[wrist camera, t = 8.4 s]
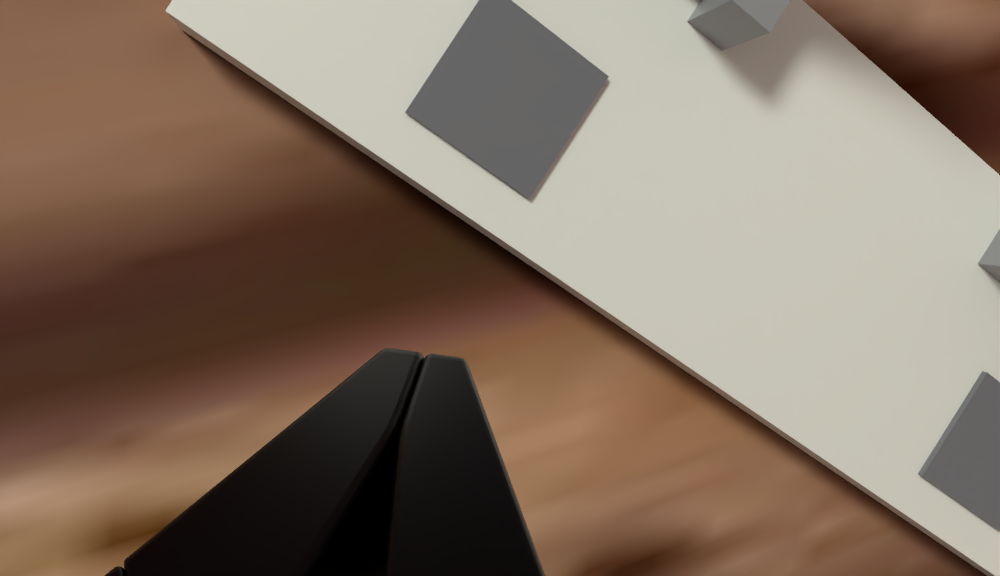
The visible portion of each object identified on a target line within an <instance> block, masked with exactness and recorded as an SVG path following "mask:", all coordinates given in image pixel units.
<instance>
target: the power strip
mask: <svg viewBox="0 0 1000 576" xmlns="http://www.w3.org/2000/svg"><path fill="white" fill-rule="evenodd" d="M166 12H167V14H168V15H169V16H170V17H171V18H172V19H173V21H174V22H175V23H176V24H177V25H178V27H179V28H180V29H181V30H183V31H184V32H186V33H187V34H189V35H190V36H192V37H193V38H195V39H196V40H198V41H199V42H201V43H202V44H203V45H205V46H206V47H208V48H209V49H211V50H212V51H214V52H215V53H217V54H218V55H220V56H221V57H223V58H224V59H226V60H227V61H229V62H230V63H232V64H233V65H234V66H236V67H237V68H239V69H240V70H242V71H243V72H245V73H246V74H248V75H249V76H251V77H252V78H254V79H255V80H257V81H258V82H260V83H261V84H262V85H264V86H265V87H267V88H268V89H270V90H271V91H273V92H274V93H276V94H277V95H279V96H280V97H282V98H283V99H285V100H286V101H288V102H289V103H291V104H292V105H293V106H295V107H296V108H298V109H299V110H301V111H302V112H304V113H305V114H307V115H308V116H310V117H311V118H313V119H314V120H316V121H317V122H319V123H320V124H322V125H323V126H324V127H326V128H327V129H329V130H330V131H332V132H333V133H335V134H336V135H338V136H339V137H341V138H342V139H344V140H345V141H347V142H348V143H350V144H351V145H352V146H354V147H355V148H357V149H358V150H360V151H361V152H363V153H364V154H366V155H367V156H369V157H370V158H372V159H373V160H375V161H376V162H378V163H379V164H381V165H382V166H383V167H385V168H386V169H388V170H389V171H391V172H392V173H394V174H395V175H397V176H398V177H400V178H401V179H403V180H404V181H406V182H407V183H409V184H410V185H411V186H413V187H414V188H416V189H417V190H419V191H420V192H422V193H423V194H425V195H426V196H428V197H429V198H431V199H432V200H434V201H435V202H437V203H438V204H440V205H441V206H442V207H444V208H445V209H447V210H448V211H450V212H451V213H453V214H454V215H456V216H457V217H459V218H460V219H462V220H463V221H465V222H466V223H468V224H469V225H471V226H472V227H473V228H475V229H476V230H478V231H479V232H481V233H482V234H484V235H485V236H487V237H488V238H490V239H491V240H493V241H494V242H496V243H497V244H499V245H500V246H501V247H503V248H504V249H506V250H507V251H509V252H510V253H512V254H513V255H515V256H516V257H518V258H519V259H521V260H522V261H524V262H525V263H527V264H528V265H530V266H531V267H532V268H534V269H535V270H537V271H538V272H540V273H541V274H543V275H544V276H546V277H547V278H549V279H550V280H552V281H553V282H555V283H556V284H558V285H559V286H561V287H562V288H563V289H565V290H566V291H568V292H569V293H571V294H572V295H574V296H575V297H577V298H578V299H580V300H581V301H583V302H584V303H586V304H587V305H589V306H590V307H591V308H593V309H594V310H596V311H597V312H599V313H600V314H602V315H603V316H605V317H606V318H608V319H609V320H611V321H612V322H614V323H615V324H617V325H618V326H620V327H621V328H622V329H624V330H625V331H627V332H628V333H630V334H631V335H633V336H634V337H636V338H637V339H639V340H640V341H642V342H643V343H645V344H646V345H648V346H649V347H651V348H652V349H653V350H655V351H656V352H658V353H659V354H661V355H662V356H664V357H665V358H667V359H668V360H670V361H671V362H673V363H674V364H676V365H677V366H679V367H680V368H681V369H683V370H684V371H686V372H687V373H689V374H690V375H692V376H693V377H695V378H696V379H698V380H699V381H701V382H702V383H704V384H705V385H707V386H708V387H710V388H711V389H712V390H714V391H715V392H717V393H718V394H720V395H721V396H723V397H724V398H726V399H727V400H729V401H730V402H732V403H733V404H735V405H736V406H738V407H739V408H740V409H742V410H743V411H745V412H746V413H748V414H749V415H751V416H752V417H754V418H755V419H757V420H758V421H760V422H761V423H763V424H764V425H766V426H767V427H769V428H770V429H771V430H773V431H774V432H776V433H777V434H779V435H780V436H782V437H783V438H785V439H786V440H788V441H789V442H791V443H792V444H794V445H795V446H797V447H798V448H800V449H801V450H802V451H804V452H805V453H807V454H808V455H810V456H811V457H813V458H814V459H816V460H817V461H819V462H820V463H822V464H823V465H825V466H826V467H828V468H829V469H830V470H832V471H833V472H835V473H836V474H838V475H839V476H841V477H842V478H844V479H845V480H847V481H848V482H850V483H851V484H853V485H854V486H856V487H857V488H859V489H860V490H861V491H863V492H864V493H866V494H867V495H869V496H870V497H872V498H873V499H875V500H876V501H878V502H879V503H881V504H882V505H884V506H885V507H887V508H888V509H890V510H891V511H892V512H894V513H895V514H897V515H898V516H900V517H901V518H903V519H904V520H906V521H907V522H909V523H910V524H912V525H913V526H915V527H916V528H918V529H919V530H920V531H922V532H923V533H925V534H926V535H928V536H929V537H931V538H932V539H934V540H935V541H937V542H938V543H940V544H941V545H943V546H944V547H946V548H947V549H949V550H950V551H951V552H953V553H954V554H956V555H957V556H959V557H960V558H962V559H963V560H965V561H966V562H968V563H969V564H971V565H972V566H974V567H975V568H977V569H978V570H980V571H981V572H982V573H984V574H985V575H987V576H1000V175H999V174H998V173H997V172H995V171H994V170H993V169H992V168H991V167H990V166H989V165H988V164H986V163H985V162H984V161H983V160H982V159H981V158H980V157H979V156H977V155H976V154H975V153H974V152H973V151H972V150H971V149H970V148H968V147H967V146H966V145H965V144H964V143H963V142H962V141H961V140H959V139H958V138H957V137H956V136H955V135H954V134H953V133H952V132H950V131H949V130H948V129H947V128H946V127H945V126H944V125H943V124H941V123H940V122H939V121H938V120H937V119H936V118H935V117H934V116H932V115H931V114H930V113H929V112H928V111H927V110H926V109H925V108H923V107H922V106H921V105H920V104H919V103H918V102H917V101H916V100H914V99H913V98H912V97H911V96H910V95H909V94H908V93H907V92H905V91H904V90H903V89H902V88H901V87H900V86H899V85H898V84H896V83H895V82H894V81H893V80H892V79H891V78H890V77H889V76H887V75H886V74H885V73H884V72H883V71H882V70H881V69H880V68H878V67H877V66H876V65H875V64H874V63H873V62H872V61H871V60H869V59H868V58H867V57H866V56H865V55H864V54H863V53H862V52H860V51H859V50H858V49H857V48H856V47H855V46H854V45H853V44H851V43H850V42H849V41H848V40H847V39H846V38H845V37H844V36H842V35H841V34H840V33H839V32H838V31H837V30H836V29H835V28H833V27H832V26H831V25H830V24H829V23H828V22H827V21H826V20H824V19H823V18H822V17H821V16H820V15H819V14H818V13H816V12H815V11H814V10H813V9H812V8H811V7H810V6H809V5H807V4H806V3H805V2H804V1H803V0H172V2H171V3H170V5H169V6H168V8H167V9H166Z"/></svg>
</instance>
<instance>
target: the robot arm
mask: <svg viewBox="0 0 1000 576" xmlns="http://www.w3.org/2000/svg"><path fill="white" fill-rule="evenodd" d="M105 576H545V574H544V571H543V569H542V566H541V563H540V560H539V558H538V555H537V552H536V549H535V547H534V544H533V541H532V538H531V536H530V533H529V530H528V528H527V525H526V522H525V519H524V517H523V514H522V511H521V508H520V506H519V503H518V500H517V498H516V495H515V492H514V489H513V487H512V484H511V481H510V478H509V476H508V473H507V470H506V467H505V465H504V462H503V459H502V457H501V454H500V451H499V448H498V446H497V443H496V440H495V437H494V435H493V432H492V429H491V426H490V424H489V421H488V418H487V416H486V413H485V410H484V407H483V405H482V402H481V399H480V396H479V394H478V391H477V388H476V386H475V383H474V380H473V377H472V375H471V372H470V369H469V366H468V364H467V362H466V361H465V360H464V359H463V358H460V357H453V356H445V355H437V354H429V355H427V356H426V357H425V358H424V357H423V355H422V354H421V353H419V352H414V351H406V350H399V349H391V348H389V349H384V350H382V351H380V352H379V353H378V354H376V355H375V356H374V357H373V358H372V359H370V360H369V361H368V362H367V363H365V364H364V365H363V366H362V367H360V368H359V369H358V370H357V371H356V372H354V373H353V374H352V375H351V376H349V377H348V378H347V379H346V380H345V381H343V382H342V383H341V384H340V385H338V386H337V387H336V388H335V389H334V390H332V391H331V392H330V393H329V394H327V395H326V396H325V397H324V398H322V399H321V400H320V401H319V402H318V403H316V404H315V405H314V406H313V407H311V408H310V409H309V410H308V411H307V412H305V413H304V414H303V415H302V416H300V417H299V418H298V419H297V420H296V421H294V422H293V423H292V424H291V425H289V426H288V427H287V428H286V429H285V430H283V431H282V432H281V433H280V434H278V435H277V436H276V437H275V438H273V439H272V440H271V441H270V442H269V443H267V444H266V445H265V446H264V447H262V448H261V449H260V450H259V451H258V452H256V453H255V454H254V455H253V456H251V457H250V458H249V459H248V460H247V461H245V462H244V463H243V464H242V465H240V466H239V467H238V468H237V469H235V470H234V471H233V472H232V473H231V474H229V475H228V476H227V477H226V478H224V479H223V480H222V481H221V482H220V483H218V484H217V485H216V486H215V487H213V488H212V489H211V490H210V491H209V492H207V493H206V494H205V495H204V496H202V497H201V498H200V499H199V500H197V501H196V502H195V503H194V504H193V505H191V506H190V507H189V508H188V509H186V510H185V511H184V512H183V513H182V514H180V515H179V516H178V517H177V518H175V519H174V520H173V521H172V522H171V523H169V524H168V525H167V526H166V527H164V528H163V529H162V530H161V531H160V532H158V533H157V534H156V535H155V536H153V537H152V538H151V539H150V540H148V541H147V542H146V543H145V544H144V545H142V546H141V547H140V548H139V549H137V550H136V551H135V552H134V553H133V554H131V555H130V556H129V557H128V558H126V560H125V561H124V568H122V567H119V566H118V567H115V568H114V569H112V570H111V571H110V572H109V573H107V574H106V575H105Z"/></svg>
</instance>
